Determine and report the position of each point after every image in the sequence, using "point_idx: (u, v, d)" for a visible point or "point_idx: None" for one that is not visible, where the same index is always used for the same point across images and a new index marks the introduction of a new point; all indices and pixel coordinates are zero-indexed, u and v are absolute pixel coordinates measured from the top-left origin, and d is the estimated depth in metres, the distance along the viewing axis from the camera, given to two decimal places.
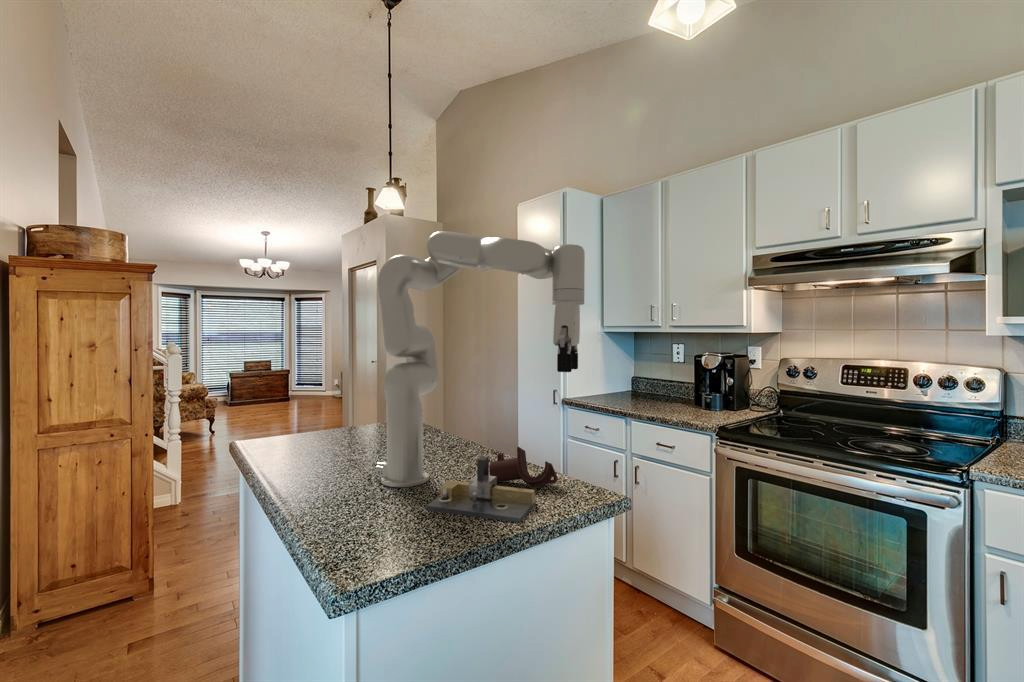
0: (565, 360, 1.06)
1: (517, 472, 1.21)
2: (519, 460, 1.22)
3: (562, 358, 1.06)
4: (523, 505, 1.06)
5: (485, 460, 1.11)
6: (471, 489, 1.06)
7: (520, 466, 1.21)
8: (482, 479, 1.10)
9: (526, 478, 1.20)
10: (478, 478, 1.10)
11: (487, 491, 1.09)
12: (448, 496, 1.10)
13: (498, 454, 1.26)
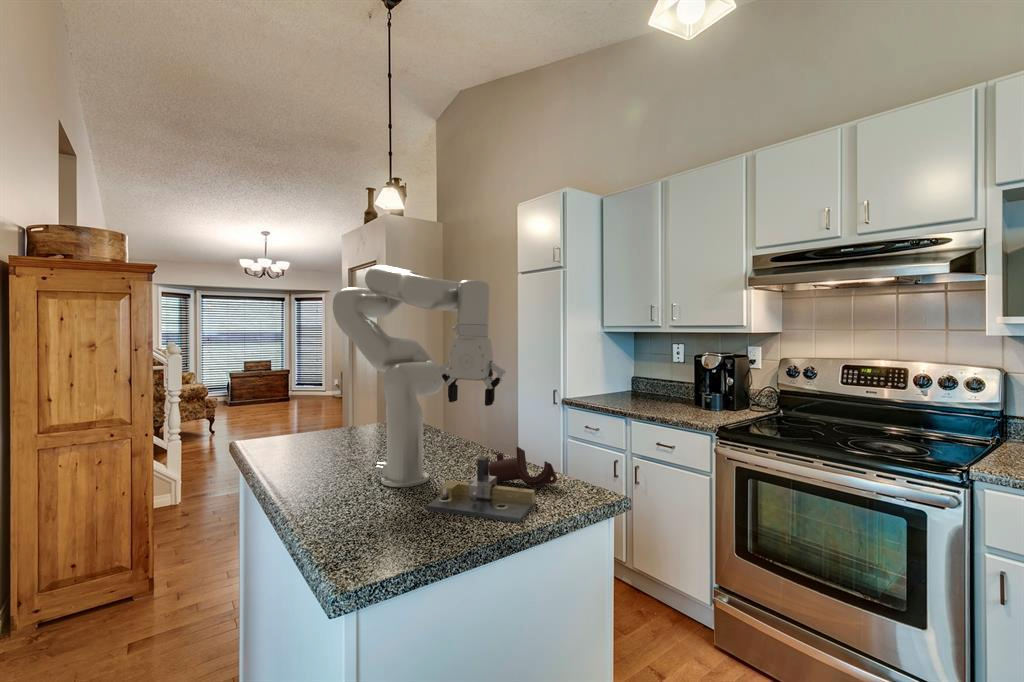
0: (493, 394, 1.12)
1: (516, 472, 1.21)
2: (519, 459, 1.22)
3: (492, 392, 1.11)
4: (523, 505, 1.06)
5: (485, 460, 1.11)
6: (471, 489, 1.06)
7: (519, 466, 1.21)
8: (482, 479, 1.10)
9: (525, 478, 1.20)
10: (478, 478, 1.10)
11: (487, 491, 1.09)
12: (448, 496, 1.10)
13: (497, 454, 1.26)
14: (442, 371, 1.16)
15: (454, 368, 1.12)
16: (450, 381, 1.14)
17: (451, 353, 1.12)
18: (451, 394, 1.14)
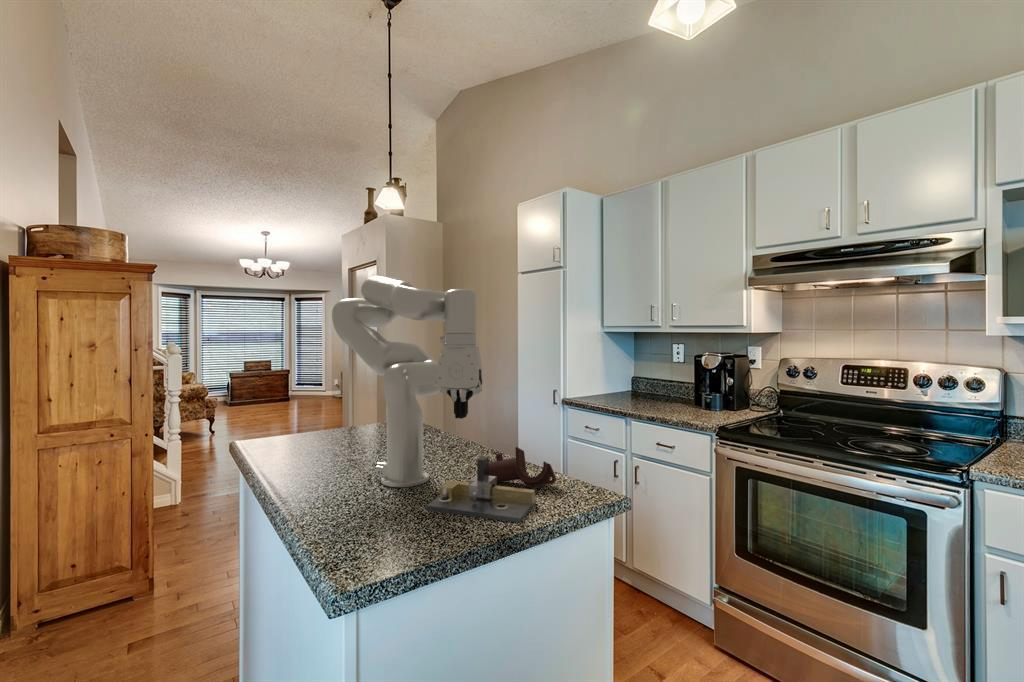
0: (467, 406, 1.13)
1: (515, 472, 1.21)
2: (518, 460, 1.22)
3: (465, 405, 1.12)
4: (523, 505, 1.06)
5: (485, 460, 1.11)
6: (471, 489, 1.06)
7: (518, 466, 1.21)
8: (482, 479, 1.10)
9: (524, 478, 1.20)
10: (478, 478, 1.10)
11: (487, 491, 1.09)
12: (448, 496, 1.10)
13: (497, 454, 1.26)
14: (445, 390, 1.14)
15: (443, 378, 1.12)
16: (454, 395, 1.12)
17: (439, 362, 1.12)
18: (457, 410, 1.12)
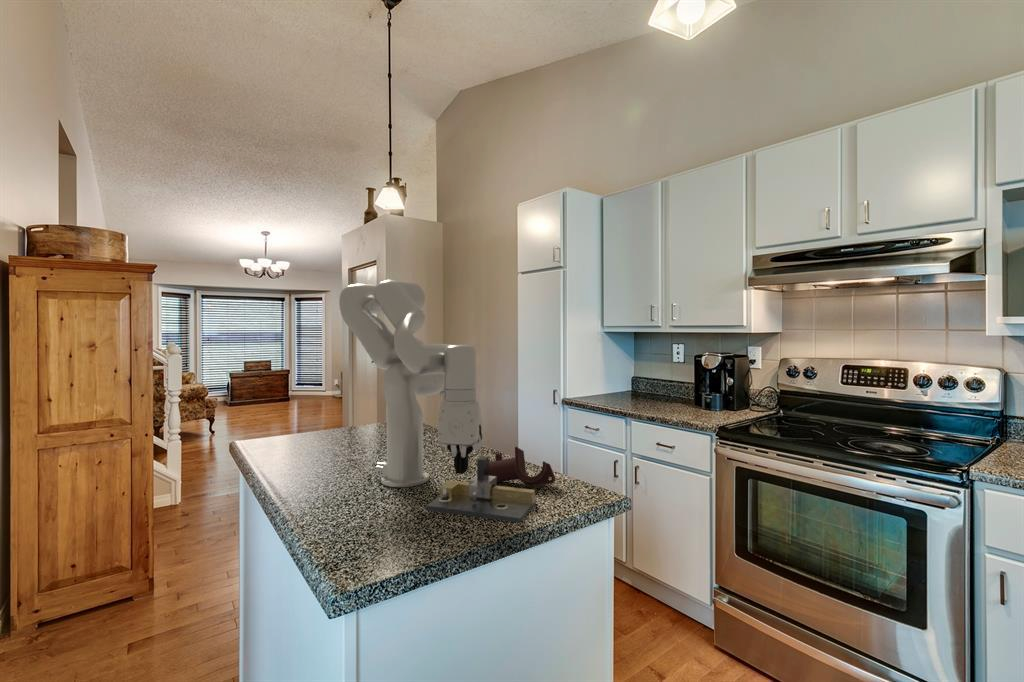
0: (467, 461, 1.13)
1: (515, 472, 1.21)
2: (517, 460, 1.22)
3: (466, 460, 1.13)
4: (523, 505, 1.06)
5: (485, 460, 1.11)
6: (471, 489, 1.06)
7: (518, 466, 1.21)
8: (482, 479, 1.10)
9: (524, 478, 1.20)
10: (478, 478, 1.10)
11: (487, 491, 1.09)
12: (448, 496, 1.10)
13: (496, 454, 1.26)
14: (445, 445, 1.14)
15: (443, 433, 1.12)
16: (454, 451, 1.12)
17: (439, 418, 1.12)
18: (457, 465, 1.12)
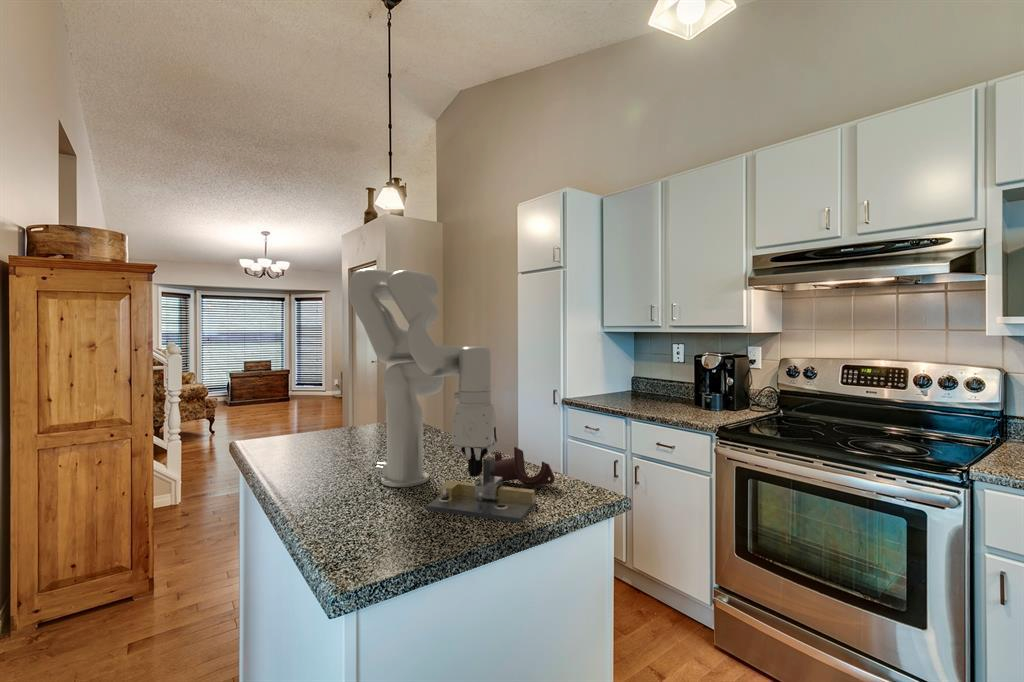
0: (481, 464, 1.12)
1: (514, 472, 1.21)
2: (516, 460, 1.22)
3: (480, 462, 1.11)
4: (523, 505, 1.06)
5: (491, 461, 1.10)
6: (477, 490, 1.06)
7: (517, 466, 1.21)
8: (488, 480, 1.10)
9: (523, 478, 1.19)
10: (484, 479, 1.10)
11: (493, 492, 1.08)
12: (448, 496, 1.10)
13: (496, 454, 1.26)
14: (459, 447, 1.13)
15: (458, 436, 1.11)
16: (468, 453, 1.11)
17: (454, 420, 1.11)
18: (472, 468, 1.11)
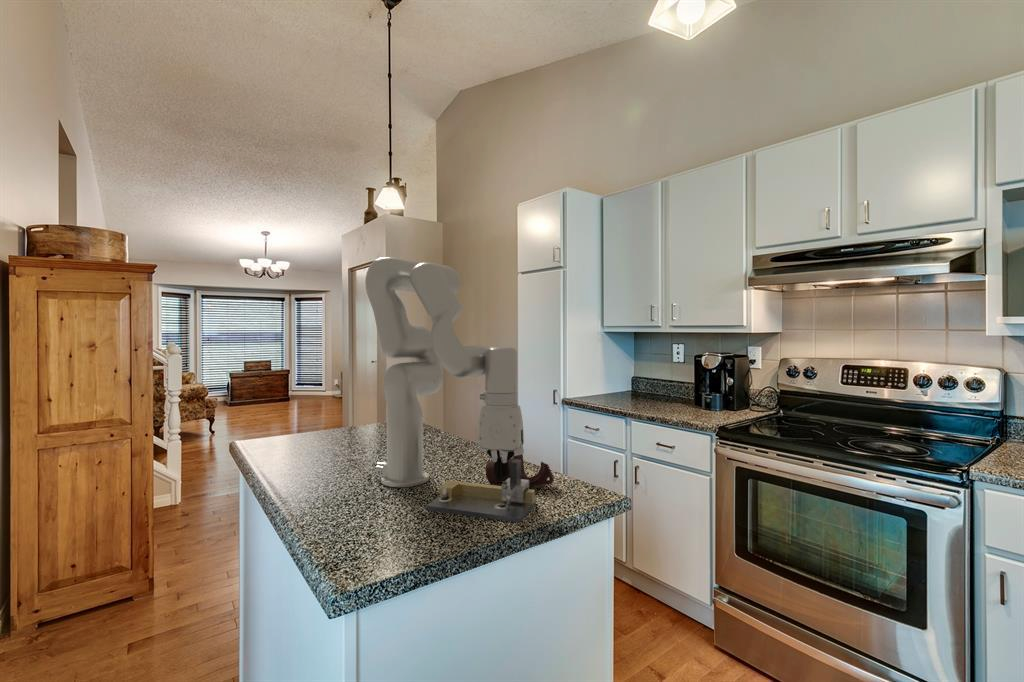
0: (507, 467, 1.10)
1: None
2: None
3: (506, 465, 1.09)
4: (523, 505, 1.06)
5: (518, 463, 1.08)
6: (505, 493, 1.04)
7: None
8: (515, 483, 1.07)
9: (522, 478, 1.19)
10: (511, 482, 1.08)
11: (521, 495, 1.06)
12: (448, 496, 1.10)
13: None
14: (485, 449, 1.11)
15: (484, 438, 1.08)
16: (494, 456, 1.09)
17: (480, 422, 1.09)
18: (498, 471, 1.09)
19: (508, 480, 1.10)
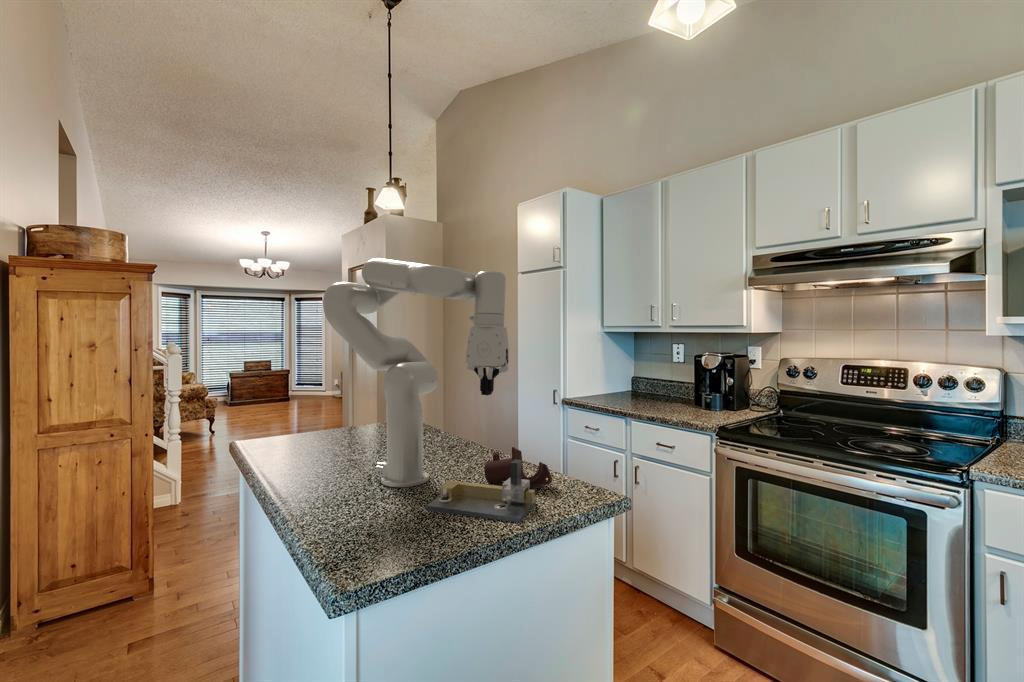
0: (492, 384, 1.18)
1: None
2: None
3: (492, 382, 1.17)
4: (523, 505, 1.06)
5: (518, 463, 1.08)
6: (505, 493, 1.04)
7: None
8: (516, 483, 1.07)
9: None
10: (511, 482, 1.08)
11: (521, 495, 1.06)
12: (448, 496, 1.10)
13: (494, 454, 1.26)
14: (472, 368, 1.19)
15: (471, 355, 1.17)
16: (481, 373, 1.17)
17: (468, 341, 1.17)
18: (484, 387, 1.17)
19: (509, 480, 1.10)
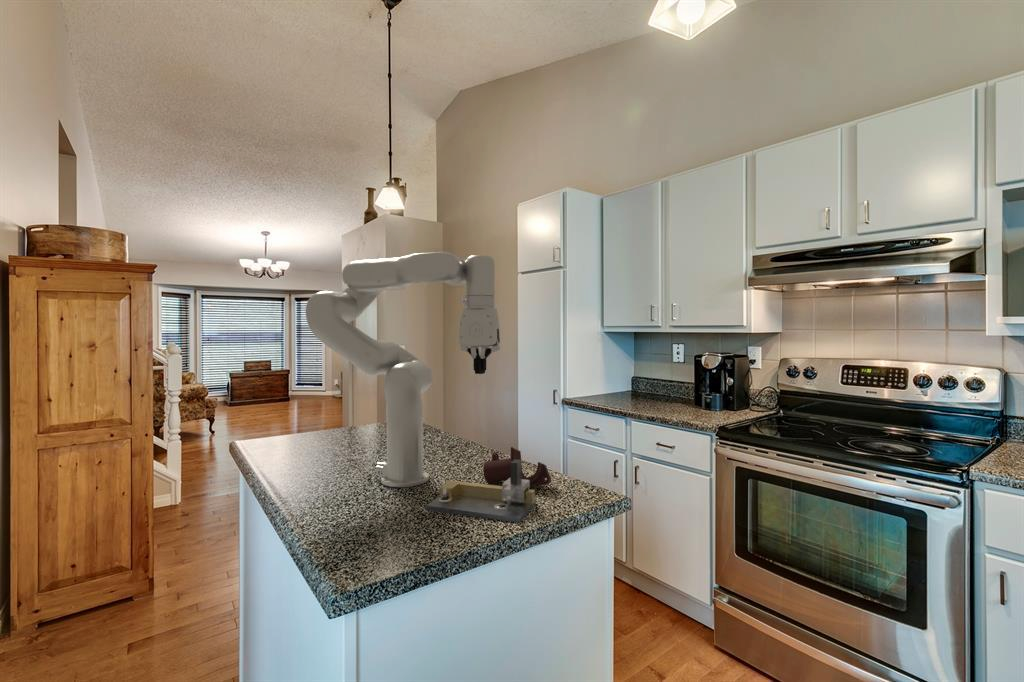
0: (485, 363, 1.23)
1: (510, 472, 1.21)
2: (512, 460, 1.22)
3: (484, 361, 1.23)
4: (523, 505, 1.06)
5: (518, 463, 1.08)
6: (505, 493, 1.04)
7: None
8: (516, 483, 1.07)
9: None
10: (511, 482, 1.08)
11: (521, 495, 1.06)
12: (448, 496, 1.10)
13: (493, 454, 1.26)
14: (465, 348, 1.24)
15: (464, 336, 1.22)
16: (474, 353, 1.23)
17: (461, 323, 1.23)
18: (477, 366, 1.22)
19: (509, 480, 1.10)
